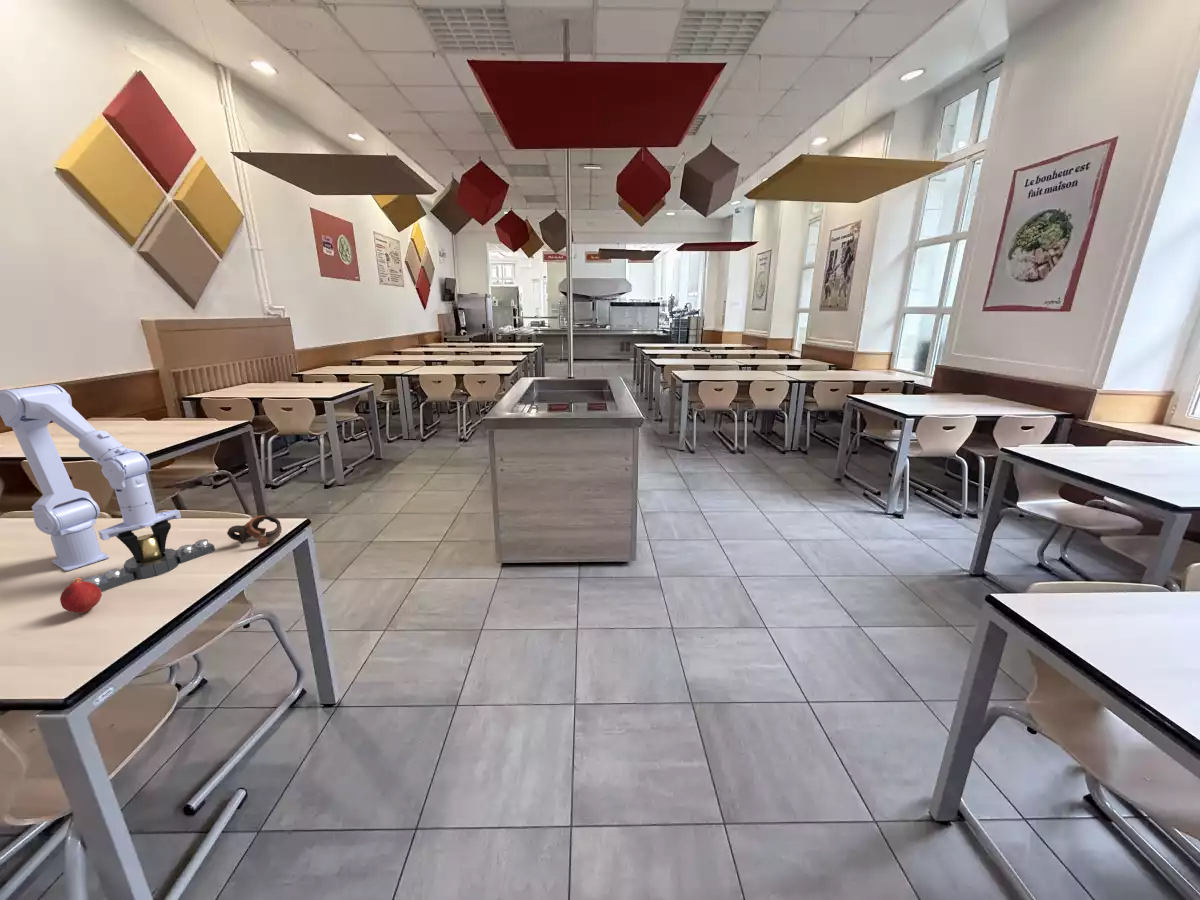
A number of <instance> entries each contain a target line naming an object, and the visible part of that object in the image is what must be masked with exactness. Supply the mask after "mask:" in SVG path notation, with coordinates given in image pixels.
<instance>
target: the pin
mask: <svg viewBox="0 0 1200 900" xmlns="http://www.w3.org/2000/svg"><path fill="white" fill-rule="evenodd" d="M137 539H138V546H139V550H140V553H141V556H142V560H140V563H149V562H153V561H156V560H159V559H161V558H162V554H161V550H160V547H159V543H158V539H157V535H156V534H153V533H149V534H143V535H140V536H137Z"/></svg>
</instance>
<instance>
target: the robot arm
mask: <svg viewBox="0 0 1200 900" xmlns="http://www.w3.org/2000/svg"><path fill="white" fill-rule="evenodd" d="M72 403H73V402H72V397H71V395H70V394H69V393H68V392H67V391H66V389H64V388H63V387H62V386H60V385H58V384H56V383H55V384H54V383H51V384H47V385H39V386H29V387H23V388H22V387H20V388H14V389H7V388H6V389H2V390H0V417H1V419H2V421H3V424H4V426H5V427H10V428H12V431H13V433H14V435H15V437H16V439H17V441H18V444H19V445H20V448H21V450H22V452H23V455H24V456H25V457H24V458H25V459H26V460H27V463H28V465H29V467H30V469H31V471H32V473H33V476H34V478H35V480H36V482H37V484H38V487H39V489H40V491H41V493H42V495H41V496H40V498H38V500H37V501H35V502H34V504H33V505H32V506H31V509H32V512H33V517H34V518H33V520H34V521H33V523H34V524H35V526H36V527H37V529H38V530H39V531H40V532H42V533H44V534H46V535H49V536H50V540H51V541H50V542H51V544H52V547H53V549H54V553H55V557H56V558H55V559H52V560H51V562H52V563H53V564H54V565H55V566H57V567H59V568H60V569H62V570H63V571H65V572H68V571H72V570H76V569H78V568H81V567H85V566H88V565H90V564H93V563H97V562H100V561H104V560H107V559H109V558H110V555H108V554H106V553H104V552H103V551H102V550H101V546H100V543H99V539H98V536H97V534H96V530H95V526H94V525H96V524H97V519H99V517H100V514H101V509H100V506H99V504H98V503H97V502H96V500H94V499H93V497H92V496H91V494H90V492H89V491H86V490H82V489H79V488H75V487H74V484H73V483H72V481H71V479H70V476H69V473H68V472H67V469H66V467H65V465H64V463H63V461H62V458H61V456H60V453H59V451H58V449H57V447H56V445H55V442H54V440H53V438H52V435H51V434H50V433H51V432H50V431H49V428H48V425H49V424H50V422H53V423H54V424H56V425H57V426H58V427H60V428H62V429H64V430H65V431H66V432H67V433H69V434H71V435H72V436H73V437H74V438H77V439H78V440H79V441H78V447H79V448H80V449H81V451H83V452H84V453H86V455H88V456H89V457H90V458H91V459H93V460H94V461H95V462H97V463H98V464H99V465H100V466H101V469H100V471H101V472H102V475H103V476H104V477H105V479H107V481H108V484H109V486H110V487H111V489H113V490H114V492H115V495H116V499H117V503H118V506H119V509H120V510H119V511H120V515H121V516H122V519H123V521H122V522H120V523H117V524H115V525H112V526H110V527H107V528H104V529H101V530H98V535H99V538H100V539H101V540H102V541H108V540H109V539H111V538H113V537H116V538H117V539H118V540H120V541H121V542H122V544H124V545H125V547H126V548H127V549H128V550H129V551H130V553H131V555H132V557H134V558H135V559H136V560H138V561H139V560H142V556H141V553H140V550H139V546H138V539H137V537H138V535H136V534H135V532H134V531H139V530H142V529H145V528H149V527H150V530H151V531H152V534H156V535H157V539H158V543H159V547H160V550H161V553H163V552H165V549H166V544H167V543H166V542H167V538H168V535H169V532H170V530H171V528H172V524H171V523H170V522H169V521H172V520H179V519H181V518H182V516H181V512H180V510H178V509H176V508H175V509H173V510H167V511H163V512H157V513H156V509H155V505H154V502H153V498H152V494H151V490H150V487H149V482H148V478H147V474H148V473H149V472H150V470H151V462H150V460H149V458H148V457H147V456H146V455H145V454H144V452H143V451H140V450H134V449H133V448H128V447H126V446H125V445H124V444H123V443H122V442H120V441H119V440H117V439H116V438H115V437H114V436H113V435H112V434H110V432H108V431H106V430H99V429H98V430H97V429H96V428H95V427H94V426H92V425H91V423H90V422H88V421H87V419H85V417H84V416H83V415H82V414H80V413H79V411H78V410H76V409H75V408H74V406H73V404H72Z"/></svg>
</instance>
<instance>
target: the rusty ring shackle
mask: <svg viewBox="0 0 1200 900" xmlns="http://www.w3.org/2000/svg"><path fill="white" fill-rule="evenodd" d="M265 520H267V521H269V522H270V523H275V524H276V527H275V528H274V529H273V530H270V531H266V530H267V529H266V528H265V527H259V526H260V524H261V523H262V522H264V521H265ZM227 530H228V531H227V533H226V534H227V536H228V538H230V539H231V540H234V541H237V542H239V543H240V544H242V545H243V544H244V543H246V542H247V541H248V539H250V538H251V537H252V538H254V539H257V540H258V544H257V546H258V548H265V547H266V546H267V545H268V544H270V543H272V542H273V541H275V540H276V539H277V538H279V537H280V535H281V533H282V524H281V521H280V520H279V519H278V518H277V517H275V516H273V515H266V514H265V515H263V514H262V515H257V516H254V517H252V518H251V519H250V520H249V521H248V522H246V523H245V524H244V525H232V526H231V527H230V528H229V527H228V529H227Z"/></svg>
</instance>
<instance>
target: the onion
mask: <svg viewBox="0 0 1200 900" xmlns="http://www.w3.org/2000/svg"><path fill="white" fill-rule="evenodd" d="M102 594H103V593H102V592H101V590H100V588H99V587H98V586H96V585H95V584H93V583H90V582H86V581H84V580H82V578H81V577H76V578H74V580H73V581H72V582H71V583H70V584H69V585H68V586H66V587H65V588H64V590H63V591H62V592H61V595H60V598H59V601H60V604H61V605H60V606H62V608H63V610H65V611H66V612H67V611H68V612H71V613H77V614H88V613H89V612H90V611H92V610H93V608H94V607H95V606H97V604H98V603H99V602H100V601H101V598H102Z"/></svg>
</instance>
